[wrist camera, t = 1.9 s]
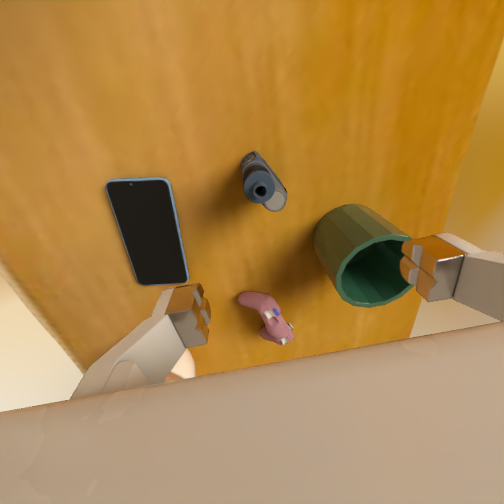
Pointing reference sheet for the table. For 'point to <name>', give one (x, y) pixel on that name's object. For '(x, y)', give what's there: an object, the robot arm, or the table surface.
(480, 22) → the table surface
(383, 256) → the pen cup
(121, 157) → the table surface
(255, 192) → the vaping device
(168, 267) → the smartphone
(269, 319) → the video game controller
